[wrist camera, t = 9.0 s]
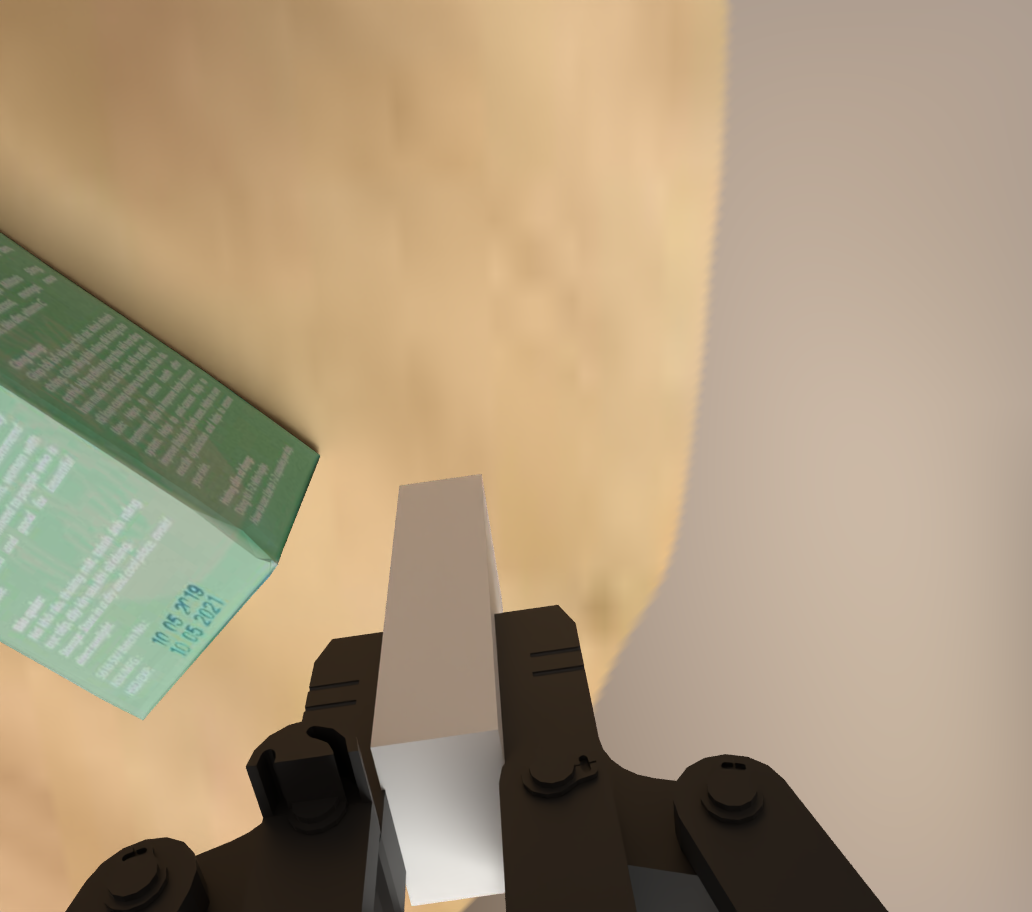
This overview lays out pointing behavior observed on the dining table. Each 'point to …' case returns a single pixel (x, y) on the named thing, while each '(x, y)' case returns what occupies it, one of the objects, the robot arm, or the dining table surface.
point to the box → (125, 492)
